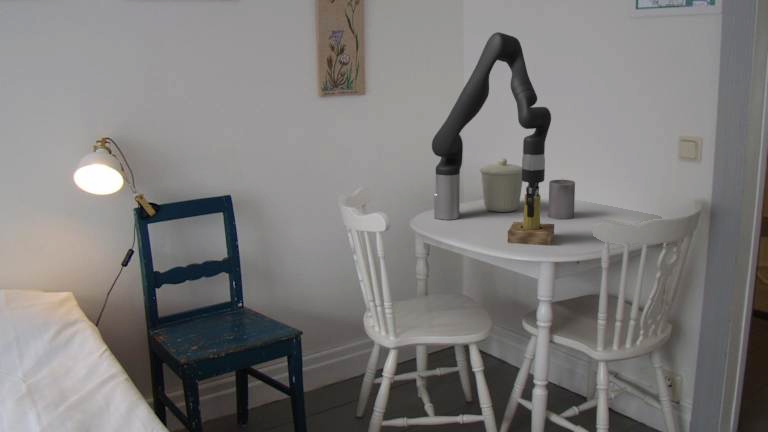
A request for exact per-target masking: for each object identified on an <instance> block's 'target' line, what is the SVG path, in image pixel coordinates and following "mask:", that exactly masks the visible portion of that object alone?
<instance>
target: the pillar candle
mask: <svg viewBox="0 0 768 432" xmlns="http://www.w3.org/2000/svg"><path fill="white" fill-rule="evenodd" d="M575 190H576V182H575V181H574V180H572V179H571V180H570V179H563V178H562V179H553V180H550V181H549V185H548V216H547V217H548V218H550V219H554V220H570V219H573V218H574V216H575V198H576V197H575V196H576V195H575V194H576V191H575Z"/></svg>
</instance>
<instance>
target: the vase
mask: <svg viewBox="0 0 768 432" xmlns="http://www.w3.org/2000/svg"><path fill="white" fill-rule="evenodd" d="M534 197H535V196H534ZM529 202H532V200H529ZM523 203H524V204H523V205H524V206H523V221H522V222H523V229H524V230H540V223H541V194H540V193H539V194H537V200H536V201H535V205H534V217H527V205H526V194H524V202H523Z"/></svg>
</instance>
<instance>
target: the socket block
mask: <svg viewBox="0 0 768 432" xmlns="http://www.w3.org/2000/svg"><path fill="white" fill-rule="evenodd" d="M554 237H555V223H543V222H542V223H541V222H540V230H524V229H523V221H520V222H519V221H513V222H512V223H511V226H510V227H509V228H508V230H507V243H509V244H524V245H536V244H538V246H539V245H540V246H551V245H552V241H553V239H554Z"/></svg>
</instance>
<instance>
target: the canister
mask: <svg viewBox="0 0 768 432" xmlns="http://www.w3.org/2000/svg"><path fill="white" fill-rule="evenodd" d="M479 172H480V173H481V182H482V183H481V184H482V194H483V204H484V207H485V208H486V209H487V210H488V211H490V212H491V211H492V212H493V213H494V212H496V213H509V212H510V213H511V212H514V211H516V210H517V209H518V207H520V206H519V205H520V200H521V194H522V187H523V181H522V165H521V166H520V165H518V164H510V163H508V160H507V158H505V157H500V158H498V160H497V163H491V164H486V165H483V167H481V168H479Z"/></svg>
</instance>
